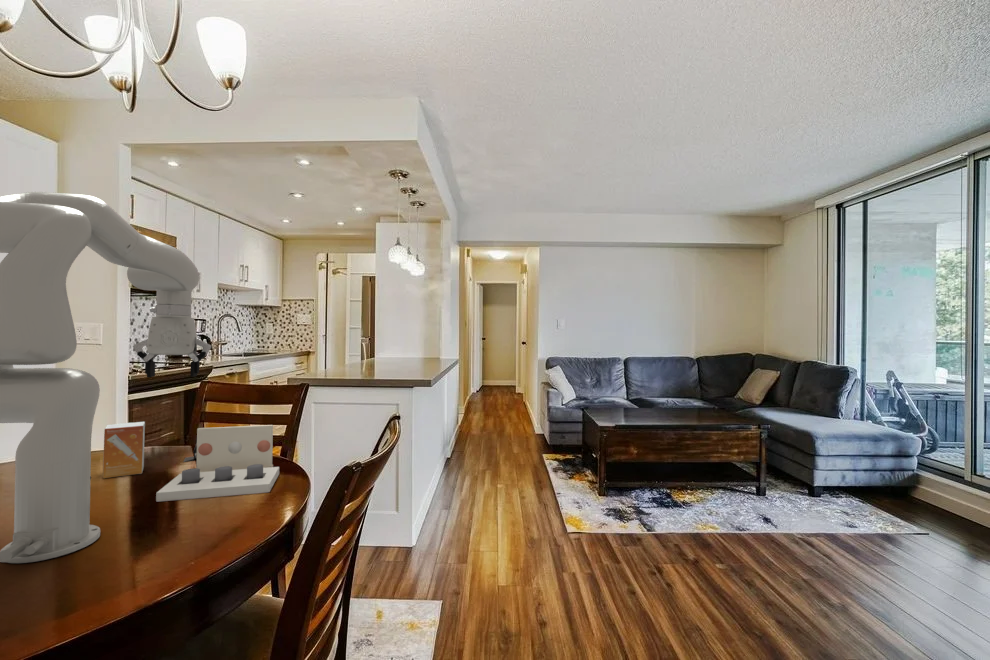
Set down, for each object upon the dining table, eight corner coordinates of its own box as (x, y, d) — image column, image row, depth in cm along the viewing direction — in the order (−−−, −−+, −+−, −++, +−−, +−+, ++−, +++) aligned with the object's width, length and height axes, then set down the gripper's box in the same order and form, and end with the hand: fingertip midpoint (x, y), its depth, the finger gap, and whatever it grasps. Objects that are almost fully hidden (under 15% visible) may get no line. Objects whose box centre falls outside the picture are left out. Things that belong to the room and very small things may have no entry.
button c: (261, 479, 110) (261, 467, 110) (245, 481, 109) (245, 469, 109) (264, 475, 113) (264, 463, 113) (248, 476, 112) (248, 464, 112)
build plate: (226, 454, 139) (227, 439, 139) (226, 460, 133) (226, 445, 133) (178, 459, 133) (179, 444, 133) (175, 465, 127) (175, 450, 127)
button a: (196, 484, 106) (196, 472, 106) (179, 486, 105) (179, 473, 105) (201, 479, 109) (202, 467, 109) (184, 481, 108) (185, 469, 108)
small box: (102, 479, 113) (103, 428, 113) (105, 472, 118) (106, 424, 118) (142, 473, 118) (143, 425, 118) (144, 467, 123) (145, 421, 123)
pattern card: (270, 472, 120) (271, 426, 120) (194, 478, 115) (195, 430, 115) (273, 468, 124) (273, 423, 124) (199, 473, 119) (200, 426, 119)
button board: (269, 492, 106) (269, 483, 106) (156, 501, 99) (156, 492, 99) (279, 474, 119) (279, 466, 119) (180, 481, 112) (180, 473, 112)
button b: (229, 482, 108) (229, 470, 108) (212, 483, 107) (213, 471, 107) (233, 477, 111) (233, 465, 111) (217, 478, 110) (217, 466, 110)
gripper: (127, 310, 111) (126, 378, 110) (207, 312, 116) (206, 377, 116) (141, 311, 118) (139, 375, 118) (215, 313, 123) (214, 374, 123)
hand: (172, 376), depth 117 cm, fingers open, 9 cm apart
